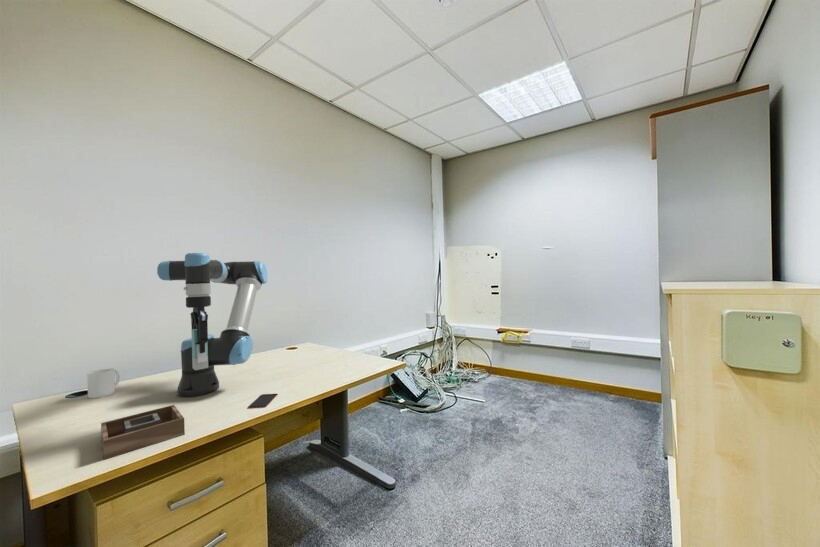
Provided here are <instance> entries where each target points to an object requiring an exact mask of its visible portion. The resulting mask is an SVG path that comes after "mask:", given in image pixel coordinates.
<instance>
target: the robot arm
mask: <svg viewBox="0 0 820 547" xmlns="http://www.w3.org/2000/svg"><path fill="white" fill-rule="evenodd" d="M156 269H157V270H156V274H157V277H158V278H159V279H160V280H162V281H169V282H170V281H185V286H184V287H183V290H184V291H185V296H186V298H185V307H186V308H189V309H190V308H191V309H192V312H190V314H189V315H190V319H191V322H190V323H191V329H197V340H198V342H197V343H195V344H196V345H197V363H200V362H205V361H207V355H206V342H208V368H205V369H200V370H194V369H193V366H192V337H191V338H187V339H184V340H183V341H182V342H181V345H180V346H181V347H180V355H181V356H180V357H181V359H180V360H181V377H180V380H179V383H178V386H177V389H176V395H177V396H178V397H182V398H189V397H190V398H191V397H197V396H203V395H206V394H210V393H212V392H215V391H217V390H218V389H220V380H219V378H218V376H217V374H216V371H215V366H235V365H241V364H244V363H246V362H247V361H248V360H249V359H250V358H251V354H252V352H253V349H254V348H253V344H254V343H253V339H252V337H251V335H250V333H249V331H248V329H249V325H250V321H251V318H252V313H253V309H254V305H255V304H254V303H255V301H256V297H257V296H256V295H257V292H258V291H260V290H261V288H262V285H264V284H267V283H268V270H267V267H266V264H265V263H264V262H263V261H260V260H258V261H257V260H254V261H229V262H222V261H221V260H217V259H210V255H209V253H206V252H187V253H186V254H185V256H184V260H167V261H165V260H164V261H160V262H159V263H158V265H157V268H156ZM211 283H217V284H224V285H225V284H226V285H236V287H237V289H236V293H235V297H234V300H233V304H232V306H231V311H230V315H229V318H228V320H227V321H228V322H227V325H226V328H225V329H223V330H222V331H221V333H220V335H219V337H215V336H214V335H213V334H209V333H208V332H209V330H208V328H209V327H208V318H209V315H208V314H207V311H206V309H205V307H206V308H207V307H210V306H211V305H212V300H211V299H212V298H211V296H210V295H211V294H212V292H211V291H212V290H211V289H212V288H211Z"/></svg>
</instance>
